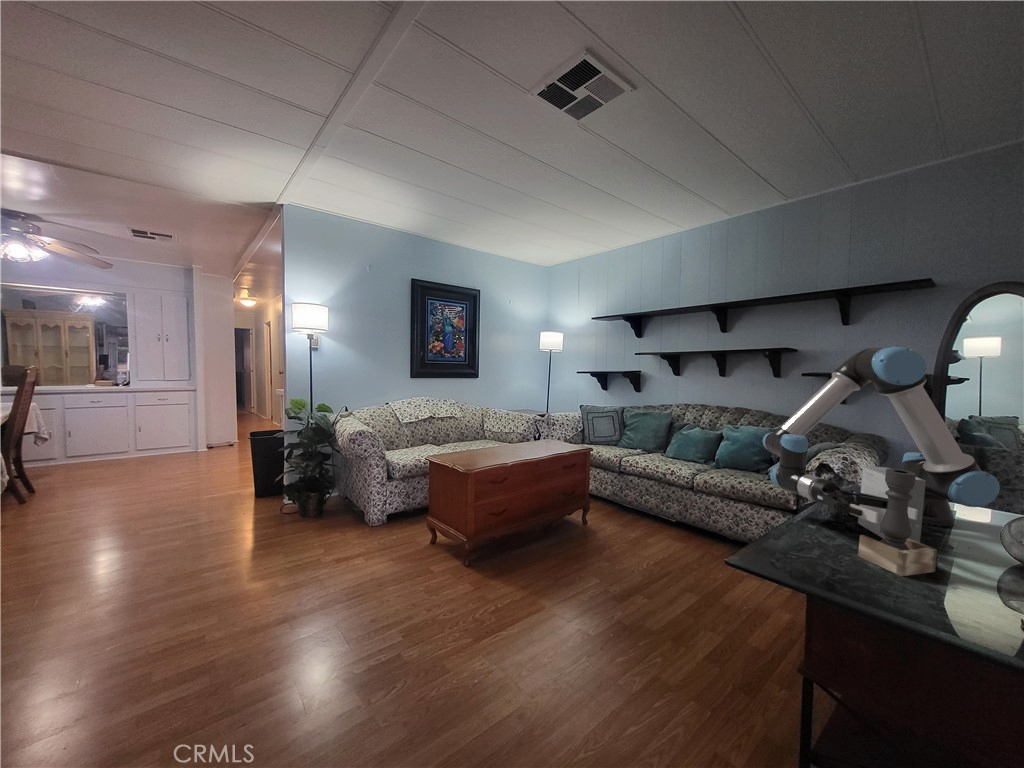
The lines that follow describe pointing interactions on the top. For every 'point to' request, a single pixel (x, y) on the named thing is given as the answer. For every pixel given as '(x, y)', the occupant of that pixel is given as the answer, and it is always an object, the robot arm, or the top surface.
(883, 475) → the hard drive box
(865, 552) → the birch crate
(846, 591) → the top surface
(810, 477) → the robot arm
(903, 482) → the candle holder
